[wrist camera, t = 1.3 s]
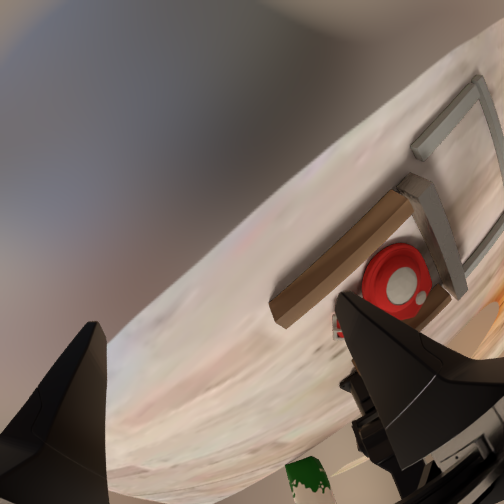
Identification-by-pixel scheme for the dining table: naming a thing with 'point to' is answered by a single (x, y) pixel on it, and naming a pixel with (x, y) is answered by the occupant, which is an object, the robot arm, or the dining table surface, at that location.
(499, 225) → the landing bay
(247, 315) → the dining table surface
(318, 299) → the stall
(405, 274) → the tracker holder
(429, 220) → the bar
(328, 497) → the milk carton
